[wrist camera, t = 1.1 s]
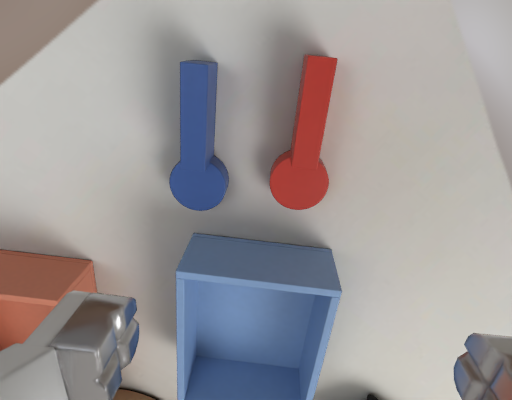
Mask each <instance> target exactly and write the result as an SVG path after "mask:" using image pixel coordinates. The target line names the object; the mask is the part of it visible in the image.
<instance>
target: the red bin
mask: <svg viewBox="0 0 512 400" xmlns="http://www.w3.org/2000/svg"><path fill="white" fill-rule="evenodd" d="M73 290H75V291H83V292H90V293H93V292H94V293H97V289H96V282H95V276H94V269H93V262H92V261H90V260H82V259H74V258H66V257H57V256H49V255H41V254H32V253H24V252H16V251H7V250H0V351H2V350H4V349H6V348H8V347H9V346H11V345H13V344H15V343H20V344H23V343H24V342H25V340H26V339H27V338H28V337H29V336H30V335H31V334H32V332H33V331H34V330H35V329H36V328H37V327H38V326H39V324H40V323H41V322H42V321H43V320H44V319H45V318H46V317H47V315H48V314H49V313H50V312H51V311H52V310H53V309H54V307H55V306H56V305H57V304H58V303H59V302H60V301H61V299H62V298H63V297H64V296H65V295H66V294H67V293H69V292H71V291H73Z"/></svg>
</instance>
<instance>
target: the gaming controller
mask: <svg viewBox="0 0 512 400" xmlns="http://www.w3.org/2000/svg"><path fill="white" fill-rule="evenodd" d="M367 400H378V399H377V398H376V397H375V396H372V395H368V396H367Z"/></svg>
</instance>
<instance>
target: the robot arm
mask: <svg viewBox="0 0 512 400" xmlns="http://www.w3.org/2000/svg"><path fill="white" fill-rule="evenodd" d="M136 311H137V307H136V300H135V299H134V298H132V297H125V296H117V295H109V294H102V293H94V292H93V293H90V292H83V291H75V290H73V291H71V292H69V293H67V294H66V295H65V296H64V297H63V298H62V299H61V301H60V302H59V303H58V304H57V305H56V306H55V307H54V309H53V310H52V311H51V312H50V313H49V314H48V315H47V317H46V318H45V319H44V320H43V321H42V322H41V323H40V324H39V326H38V327H37V328H36V329H35V330H34V331H33V332H32V334H31V335H30V336H29V337H28V338H27V339H26V340H25V342H24V343H23V344H20V343H15V344H13V345H11V346H9V347H8V348H6V349H4V350H2V351H0V400H113V398H114V396H115V394H116V392H117V390H118V388H119V385H120V383H121V381H122V377H121V370H122V369H123V368H124V367H126V366H127V365H128V364H130V362H131V360H132V358H133V356H134V354H135V351H136V347H137V343H138V339H139V323H138V322H137V321H136V320H135V319H134V318H133V316H134V314H135V312H136ZM464 345H465V347H466V349H467V351H468V352H466V353H464V354H463V355H461V356H459V357H458V358H457V361H456V363H455V366H454V381H455V385H456V388H457V391H458V393H459V395H460V397H461V399H462V400H512V337H511V336H500V335H490V334H479V333H473V334H471V335H470V336H468V338H467V340H466V342H465V344H464Z"/></svg>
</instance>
